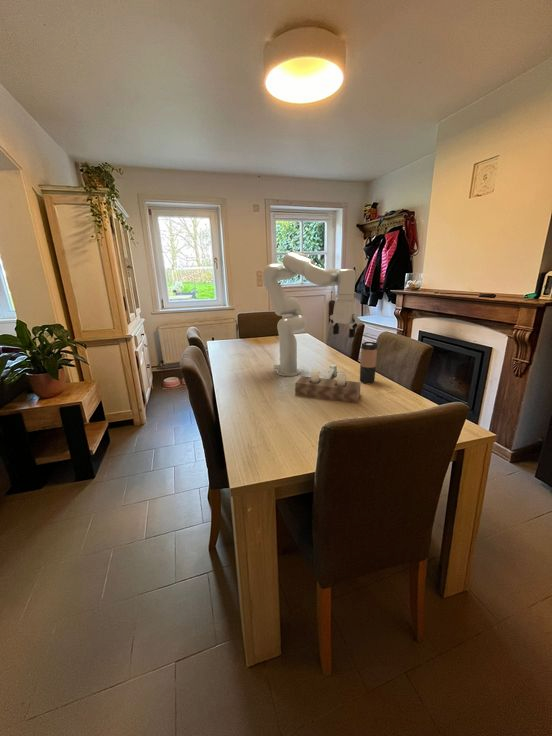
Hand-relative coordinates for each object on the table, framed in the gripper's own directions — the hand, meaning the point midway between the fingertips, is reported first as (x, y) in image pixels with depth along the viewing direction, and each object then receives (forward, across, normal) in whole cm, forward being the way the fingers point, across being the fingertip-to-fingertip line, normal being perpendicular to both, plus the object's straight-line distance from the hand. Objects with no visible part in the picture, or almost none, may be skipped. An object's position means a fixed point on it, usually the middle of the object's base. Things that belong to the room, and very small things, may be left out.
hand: (343, 335), depth 141 cm
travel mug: (+26, +2, +17) cm, 31 cm away
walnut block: (+26, +2, -12) cm, 28 cm away
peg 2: (+20, +7, -8) cm, 23 cm away
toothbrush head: (+26, -11, +3) cm, 29 cm away
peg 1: (+20, -3, -15) cm, 25 cm away
